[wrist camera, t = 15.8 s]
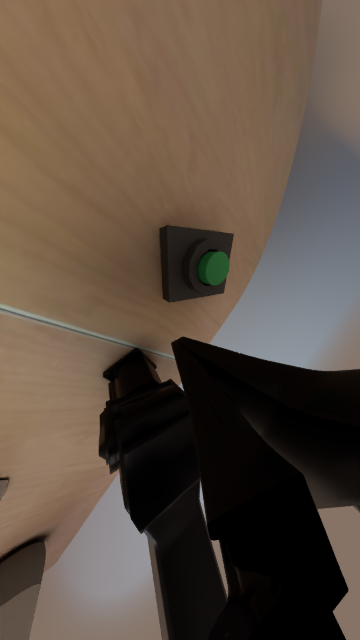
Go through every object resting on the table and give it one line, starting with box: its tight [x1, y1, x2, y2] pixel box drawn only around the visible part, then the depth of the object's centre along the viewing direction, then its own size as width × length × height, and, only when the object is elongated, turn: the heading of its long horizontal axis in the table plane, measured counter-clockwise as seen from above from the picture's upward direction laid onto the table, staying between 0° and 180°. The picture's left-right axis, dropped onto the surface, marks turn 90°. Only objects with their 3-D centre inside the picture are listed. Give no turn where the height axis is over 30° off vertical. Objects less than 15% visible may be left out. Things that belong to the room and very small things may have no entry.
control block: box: [160, 225, 234, 302], centre depth 19 cm, size 11×9×4 cm
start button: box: [197, 252, 229, 285], centre depth 17 cm, size 4×4×2 cm
